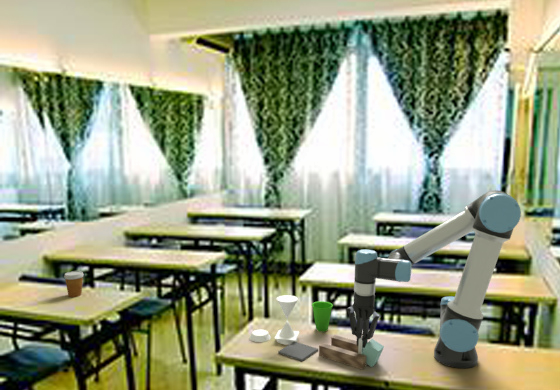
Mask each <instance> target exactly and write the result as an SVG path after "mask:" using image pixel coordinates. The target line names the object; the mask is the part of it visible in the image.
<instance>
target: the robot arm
mask: <svg viewBox="0 0 560 390" xmlns="http://www.w3.org/2000/svg"><path fill="white" fill-rule="evenodd" d="M521 215H522V213H521V208H520V205H519V203H518V201H517V200H516V199H515V198H514V197H513V196H512V195H510V194H508V193H506V192H505V191H501V190H496V189H495V190H490V191H488V192H485V193H483V194H482V195H481V196H479V197H478V198H477V199H475V200H473V201H472V202H470V203H468V204H467V205H466V206H465V207H464V210H463V211H461V212H459V213H458V214H456V215H454V216H453V217H451V218H449V219H448V220H446V221H444V222H442V223H440V224H439V225H436V226H435V227H434V228H432V229H430V230H429V231H426V232H425V233H424V234H422V235H420V236H418V237H417V238H415V239H413V240H411V241H409V242H408V243H405V245H403V246H402V247H399V248H397V249H394V250H392V251H391V252H390V253H389V254H388V257H387V258H386V257H378V252H377V251H375V250H373V249H358V250H357V251H356V253H355V262H354V280H353V281H354V284H353V291H354V292H353V302H352V303H353V304H352V305H351V306H349V307H347V308H346V309H345V310H346V312H347V314H348V318H349V319H348V320H349V325H350V331H351V334H352V336H355V337H356V341H357V343H356V344H357V346H358V353H359V354H362V353H363V351H364V348H365V346H366V344H367V343H368V342H369V341H370V340H371V339H373V337H374V334H375V330H376V328H377V325H378V322H379V320H380V318H382V315H381V314H380V313H378V312H376V308H375V302H376V301H375V300H376V299H375V298H376V295H375V293H376V283H377V281H376V279H377V280H378V279H379V280H385V281H393V282H397V283H398V282H399V283H401V282H402V283H404V282H405V283H408V282H410V281H411V277H412V267H413V265H414V264H416V263H418V262H421V261H422V260H423V259H426V258H428V257H429V256H431V255H432V254H434V253H436V252H437V251H439V250H441V249H443V248H445V247H446V246H448V245H450V244H452V243H453V242H455V241H457V240H459V239H461V238H462V237H464V236H466V235H468V234H469V233H471V232H474V237H473V241H472V243H471V247H470V249H469V253H468V255H467V259H466V262H465V265H464V267H463V271H462V274H461V277H460V280H459V283H458V287H457V289H456V292H455V294H454V295H455V296H452V295H451V296H444V297H442V298H441V301H440V303H439V305H440V317H439V318H440V321H439V336H438V340H437V342H436V344H435V348H433V349H434V351H433V357H434V359H435V360H436V361H437V362H439V363H440V364H443V365H445V366H447V367H452V368H456V369H457V368H458V369H469V368H474V367H476V366H477V365H478V362H479V361H478V360H479V355H478V351H477V349H476V346H477V344H478V342H479V337H480V335H479V331H480V327H481V324H482V321H483V319H484V314H483V313H482V310H481V309H482V306H483V303H484V300H485V298H486V294H487V291H488V288H489V285H490V282H491V280H492V277H493V274H494V271H495V268H496V266H497V265H496V264H497V262H498V259H499V256H500V253H501V250H502V248H503V244H504V243H505V242H507V241H509V240H510V239H511V237H512V235H513V231H514V229H515V227H516V226H517V225H518V224H519V222H520V221H521ZM371 316H372V320H371ZM370 320H371V324H370ZM368 340H369V341H368Z"/></svg>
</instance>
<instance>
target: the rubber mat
mask: <svg viewBox="0 0 560 390" xmlns="http://www.w3.org/2000/svg"><path fill="white" fill-rule="evenodd" d="M317 352H319V347H314V346H311V345H308V344H304V343H301V342H299V341H297V342H293V343H291V344H289V345H286V346H284V347H283V348H281V349H279V350H277V353H278V355H279V354H280V355H283V356H285V357H288V358H291V359H295V360H297V361H300V362H303V361H305V360H306V359H308V358H310V357H311V356H313V355H314V354H315V353H317Z"/></svg>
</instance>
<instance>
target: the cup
mask: <svg viewBox="0 0 560 390" xmlns="http://www.w3.org/2000/svg"><path fill="white" fill-rule="evenodd" d="M311 306H312V310H313V318H314V324H315V330H316V329H317V330H318V331H317V330H316V331H317V332H320V331H322V333H323V332H327V331H329V326H330V320H331V314H332V309H333V307H334V304H333V303H331V302H330V301H323V300H322V301H321V300H320V301H319V300H318V301H315V302H312V303H311Z"/></svg>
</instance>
